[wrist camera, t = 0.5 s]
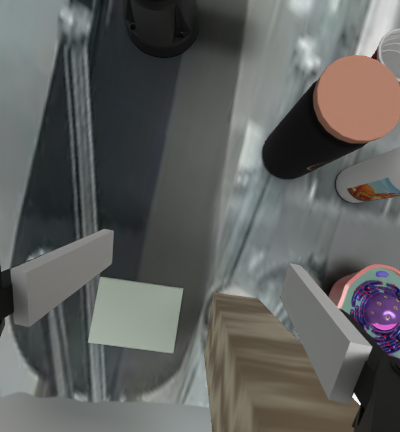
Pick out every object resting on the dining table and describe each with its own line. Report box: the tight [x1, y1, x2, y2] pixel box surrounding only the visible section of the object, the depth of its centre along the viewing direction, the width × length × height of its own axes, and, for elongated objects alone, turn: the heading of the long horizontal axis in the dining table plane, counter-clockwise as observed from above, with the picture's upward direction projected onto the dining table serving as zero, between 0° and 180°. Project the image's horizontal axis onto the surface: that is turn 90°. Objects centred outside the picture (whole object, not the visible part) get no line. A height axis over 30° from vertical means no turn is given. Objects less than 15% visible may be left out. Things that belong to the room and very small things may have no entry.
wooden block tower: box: [204, 292, 360, 432], centre depth 22 cm, size 12×9×32 cm
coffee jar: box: [263, 55, 400, 179], centre depth 31 cm, size 11×11×18 cm
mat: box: [88, 277, 183, 353], centre depth 36 cm, size 12×16×1 cm
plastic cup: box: [371, 28, 400, 85], centre depth 36 cm, size 11×11×12 cm
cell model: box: [328, 264, 400, 359], centre depth 33 cm, size 17×20×11 cm
